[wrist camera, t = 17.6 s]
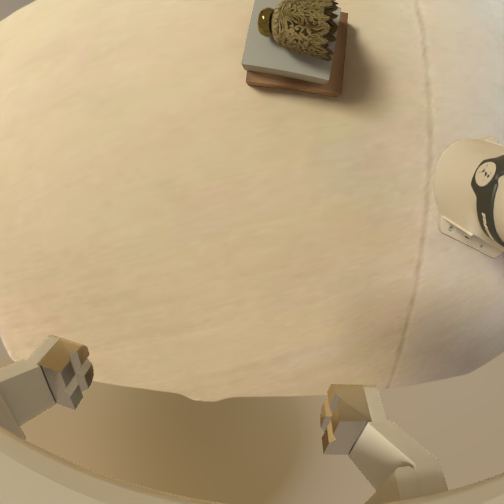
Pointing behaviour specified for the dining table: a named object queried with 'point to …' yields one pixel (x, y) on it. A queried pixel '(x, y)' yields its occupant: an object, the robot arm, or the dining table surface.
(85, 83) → the dining table surface
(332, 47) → the tower top
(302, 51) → the cup
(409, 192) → the dining table surface
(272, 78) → the tower base
